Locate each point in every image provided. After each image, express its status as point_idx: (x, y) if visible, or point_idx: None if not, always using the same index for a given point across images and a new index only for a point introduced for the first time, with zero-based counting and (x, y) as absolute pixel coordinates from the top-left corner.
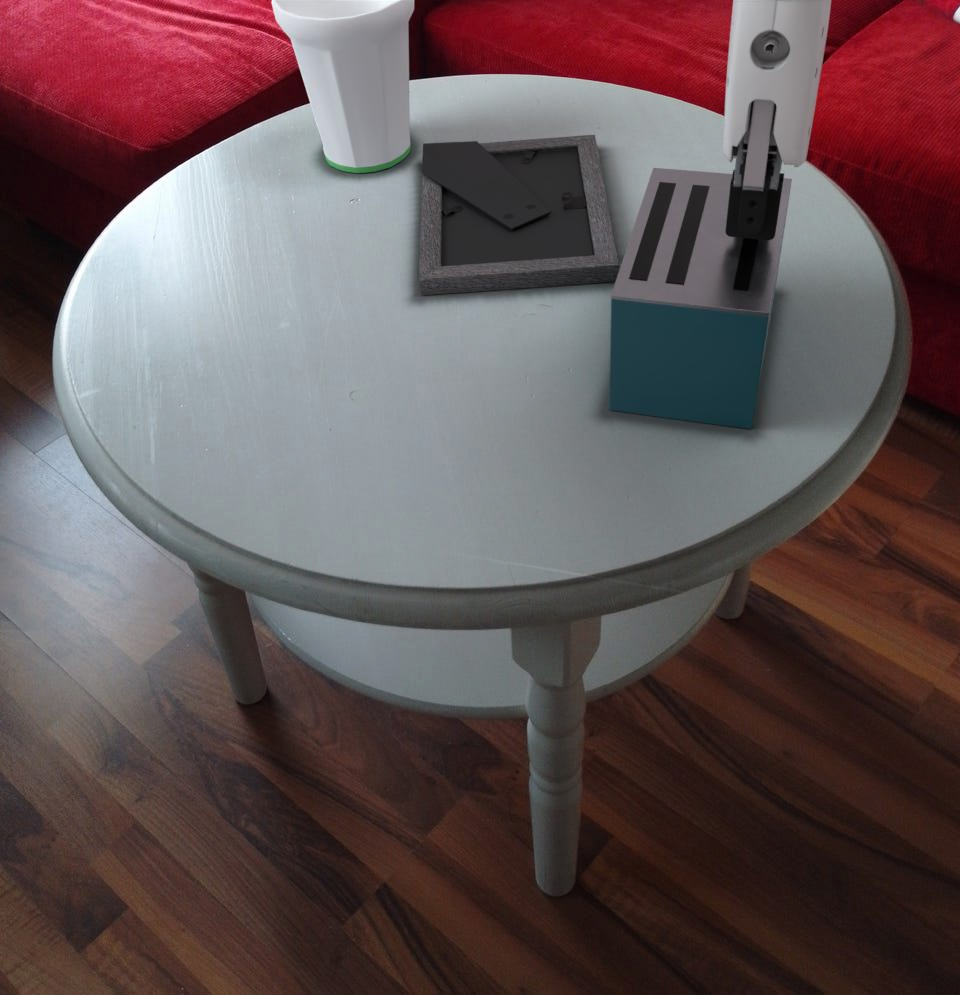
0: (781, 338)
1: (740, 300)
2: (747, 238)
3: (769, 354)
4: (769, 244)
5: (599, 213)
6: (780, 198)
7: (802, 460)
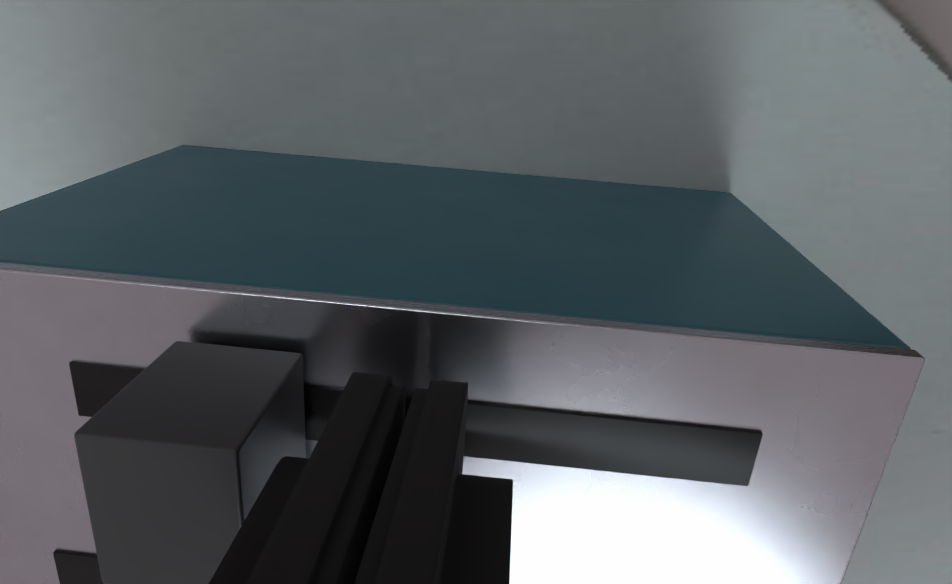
0: (368, 124)
1: (828, 460)
2: None
3: (438, 154)
4: (412, 352)
5: None
6: (350, 480)
7: (849, 65)
